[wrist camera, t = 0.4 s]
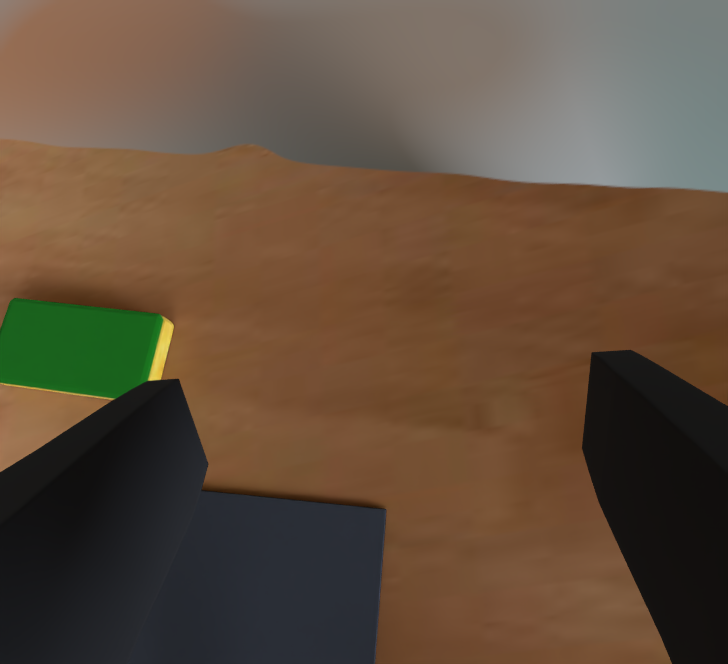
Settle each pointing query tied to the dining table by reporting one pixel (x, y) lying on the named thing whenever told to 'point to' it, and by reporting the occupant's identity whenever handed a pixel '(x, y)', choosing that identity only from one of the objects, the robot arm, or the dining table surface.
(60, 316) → the dish sponge
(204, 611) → the mat
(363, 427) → the dining table surface
